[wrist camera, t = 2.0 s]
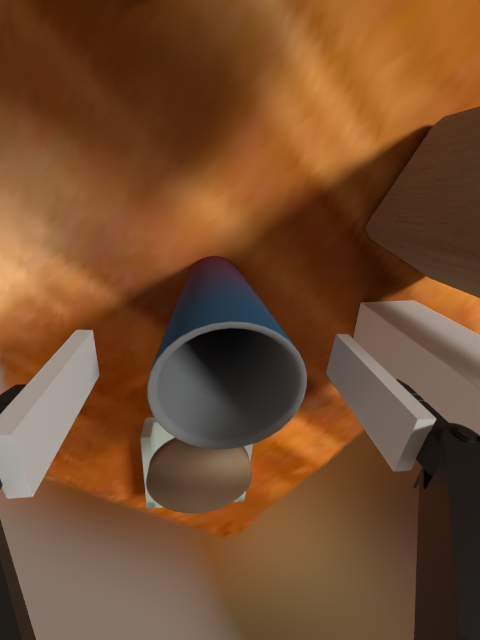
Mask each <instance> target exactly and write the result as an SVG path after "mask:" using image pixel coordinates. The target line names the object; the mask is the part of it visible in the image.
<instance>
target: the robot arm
mask: <svg viewBox="0 0 480 640" xmlns="http://www.w3.org/2000/svg"><path fill="white" fill-rule="evenodd" d="M326 374H327V376H328V377H329V379H330V380H331V382H332V383H333V385H334V386H335V387H336V389H337V390H338V392H339V393H340V395H341V396H342V398H343V399H344V400H345V402H346V403H347V405H348V406H349V408H350V409H351V411H352V412H353V413H354V415H355V416H356V418H357V419H358V421H359V422H360V424H361V425H362V426H363V428H364V429H365V431H366V432H367V434H368V435H369V436H370V438H371V439H372V441H373V442H374V444H375V445H376V446H377V448H378V449H379V451H380V452H381V454H382V455H383V456H384V458H385V460H386V461H387V462H388V464H389V465H390V467H391V468H392V470H393V471H407V470H411V469H412V467H413V465H414V463H415V461H416V460H417V461H418V462H419V463H420V465H421V466H422V469H421V472H420V473H419V475H418V477H417V479H416V481H415V483H414V485H413V487H414V488H416V487H417V485H419V505H418V536H417V539H418V540H417V567H416V569H417V570H416V599H415V630H414V640H480V435H479V434H477V433H476V432H474V431H473V430H471V429H469V428H467V427H465V426H463V425H460V424H456V423H449V422H448V421H447V420H445V419H444V418H443V417H442V416H441V415H440V414H439V413H438V412H437V411H436V410H435V409H434V408H432V407H431V406H430V405H429V404H428V403H427V402H426V401H424V399H423V398H422V397H421V396H420V395H417V393H416V392H415V391H414V390H413V389H412V388H411V387H410V386H409V385H407V384H405V383H404V382H402V381H400V380H399V379H395V378H394V377H392V376H391V375H390V374H389V373H388V372H387V371H386V370H385V369H384V368H383V367H382V366H381V365H380V364H379V363H378V362H377V361H376V360H375V359H374V358H373V357H372V356H371V355H370V354H368V353H367V352H366V351H365V350H364V349H363V348H362V347H361V346H360V345H359V344H358V343H357V342H356V341H355V340H354V339H353V338H352V337H351V336H350V335H349V334H336V335H335V339H334V343H333V347H332V351H331V355H330V359H329V362H328V366H327V370H326ZM98 377H99V368H98V361H97V355H96V348H95V342H94V335H93V330H76V331H75V332H74V333H73V334H72V335H71V336H70V337H69V338H68V340H67V341H66V342H65V343H64V344H63V345H62V346H61V347H60V348H59V350H58V351H57V352H56V353H55V354H54V355H53V356H52V357H51V358H50V360H49V361H48V362H47V363H46V364H45V365H44V366H43V367H42V369H41V370H40V371H39V372H38V373H37V374H36V375H35V376H34V377H33V379H32V380H31V381H30V382H29V383H28V384H27V385H15V386H13V387H12V388H10V389H9V390H7V391H5V392H4V393H2V394H1V395H0V489H1V487H2V488H3V491H4V493H5V495H6V498H21V497H33V496H34V494H35V492H36V490H37V488H38V486H39V485H40V483H41V481H42V479H43V477H44V476H45V474H46V472H47V470H48V468H49V467H50V465H51V463H52V461H53V459H54V457H55V456H56V454H57V452H58V450H59V448H60V446H61V445H62V443H63V441H64V439H65V437H66V435H67V434H68V432H69V430H70V428H71V426H72V425H73V423H74V421H75V419H76V417H77V415H78V414H79V412H80V410H81V408H82V406H83V404H84V403H85V401H86V399H87V397H88V395H89V394H90V392H91V390H92V388H93V386H94V384H95V383H96V381H97V379H98ZM0 640H36V638H35V635H34V631H33V628H32V625H31V621H30V618H29V615H28V611H27V608H26V605H25V601H24V598H23V595H22V591H21V588H20V584H19V581H18V578H17V575H16V571H15V568H14V564H13V561H12V557H11V554H10V551H9V548H8V544H7V541H6V537H5V534H4V531H3V527H2V524H1V521H0Z"/></svg>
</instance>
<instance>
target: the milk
mask: <svg viewBox="0 0 480 640" xmlns="http://www.w3.org/2000/svg"><path fill="white" fill-rule="evenodd" d="M353 339H354V340H355V341H356V342H357V343H358V344H359V345H360V346H361V347H362V348H363V349H364V350H365V351H366V352H367V353H368V354H370V355H371V356H372V357H373V358H374V359H375V360H376V361H377V362H378V363H379V364H380V365H381V366H382V367H383V368H384V369H385V370H386V371H387V372H388V373H389V374H390V375H391V376H392V377H394V378H395V379H399V380H400V381H402V382H404V383H405V384H407V385H409V386H410V387H411V388H412V389H413V390H414V391H415V392H416V393H417V395H420V396H421V397H422V398H423V399H424V401H426V402H427V403H428V404H429V405H430V406H431V407H432V408H434V409H435V410H436V411H437V412H438V413H439V414H440V415H441V416H442V417H443V418H444V419H445V420H447V421H448V422H449V423H456V424H460V425H463V426H465V427H467V428H469V429H471V430H473V431H474V432H476V433H477V434H479V435H480V335H479V334H477V333H475V332H473V331H471V330H469V329H467V328H465V327H464V326H462V325H460V324H458V323H456V322H454V321H452V320H450V319H448V318H447V317H445V316H443V315H441V314H439V313H437V312H435V311H433V310H431V309H430V308H428V307H426V306H424V305H422V304H420V303H418V302H416V301H414V300H408V301H383V302H361V303H360V308H359V313H358V317H357V322H356V326H355V331H354V336H353Z"/></svg>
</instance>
